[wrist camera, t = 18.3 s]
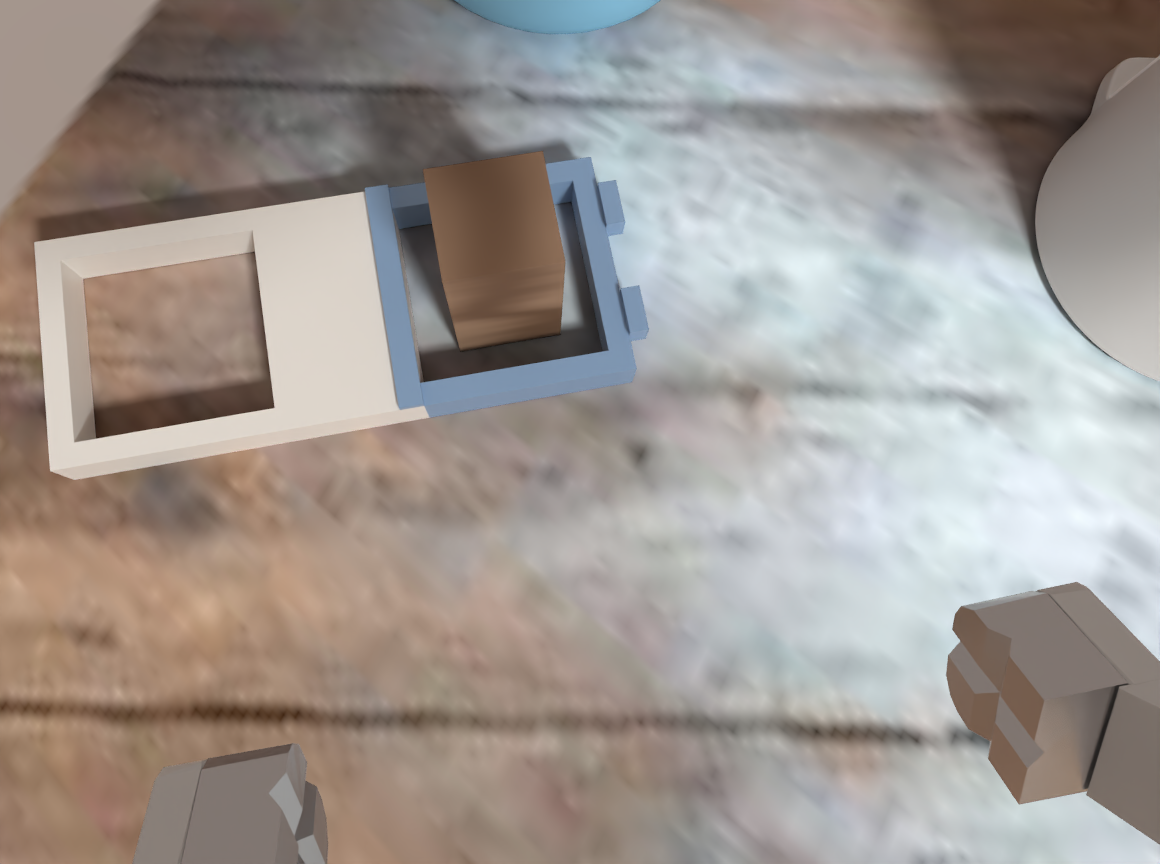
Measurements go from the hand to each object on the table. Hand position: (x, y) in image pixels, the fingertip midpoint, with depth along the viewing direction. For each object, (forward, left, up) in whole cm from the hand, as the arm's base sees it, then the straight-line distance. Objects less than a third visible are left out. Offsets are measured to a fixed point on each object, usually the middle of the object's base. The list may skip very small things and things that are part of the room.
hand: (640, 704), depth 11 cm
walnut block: (0, -16, -27) cm, 32 cm away
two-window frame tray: (+7, -16, -27) cm, 33 cm away
